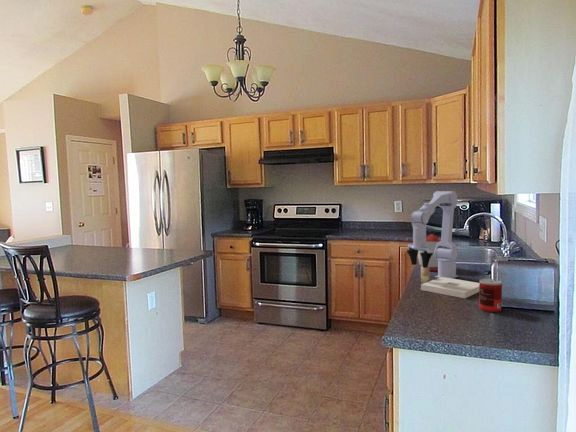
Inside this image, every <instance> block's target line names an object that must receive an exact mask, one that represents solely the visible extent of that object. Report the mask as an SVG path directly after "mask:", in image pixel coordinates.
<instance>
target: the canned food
mask: <svg viewBox="0 0 576 432" xmlns="http://www.w3.org/2000/svg"><path fill="white" fill-rule="evenodd" d="M493 279H494V278H482V279H479V282H478V283H479V292H478V294H479V295H478V296H479V297H478V308H479V310H480V311H482V310H483V311H482V312H485V311H486V312H485V313H493V312H495V313H500V312H501V311H502V305H503V304H502V302H503V299H502V298H503V297H502V295H503V291H502V290H503V282H502V281H501V280H499V281H495V280H496V279H495V280H493ZM499 311H500V312H499Z"/></svg>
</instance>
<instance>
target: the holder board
mask: <svg viewBox="0 0 576 432" xmlns="http://www.w3.org/2000/svg"><path fill="white" fill-rule="evenodd" d="M479 283H480V282H475V281H469V280H463V279H456V278H453V279H452V278H445V277H440V278H436V279H432V280H429V282H426V283H424V284H422V283H420V291H425V292H431V293H435V294H440V295H446V296H451V297H456V298H459V299H460V298H461V299H467V298H469V297H471V296H473V295H475V294H479Z"/></svg>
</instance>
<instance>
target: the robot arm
mask: <svg viewBox="0 0 576 432" xmlns="http://www.w3.org/2000/svg"><path fill="white" fill-rule="evenodd" d="M432 195H433V196H432V198H431V200H430V201H429V202H425V203H424V204H423V205H422V206H421V207H420V208H419V209H418V210H417V211H416V210H415V211H413V212H411V215H410V219H409V220H410V222H411V226H412V242H413V243H410V244H409V243H408V244H407V250H406V252H407V254H408V256H409V258H410V263H411V265H412V266H414V265H416V266H417V263H418V262H417V261H418V251H423V252H422V253H420V254H421V257H422V265H423V268H427V267H428V263H429V260H430V258H431V256H432V255H433V253H432V248H429V247H426V237H427V224H428V222H429V221H430V218H431V216H432V215H433V214H434V213H435V210H436V208H437V207H439V208H441V209H442V223H441V236H440V238H441V241H440V242H438V243H437V244H436V248H435V251H434V255H435V257H436V258H437V260H438V271H437V275H435V276H434V278H436V279H438V278H440V277H445V278H452V279H456V278H458V277H459V276H458V275H457V264H456V263H457V262H456V261H455V260H456V259H457V258H458V247H457V244H455V243H454V242H453V241H452V240H453V238H452V237H453V229H454V228H453V227H454V225H453V224H454V214H455V213H454V212H455V208H457V205H458V204H457V203H458V195H457V193H456V191H454V190H450V191H448V190H447V191H446V190H444V191H443V190H442V191H441V190H440V191H439V190H436V191H434V193H433V194H432ZM442 246H447V247H442Z"/></svg>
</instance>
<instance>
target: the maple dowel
mask: <svg viewBox="0 0 576 432" xmlns="http://www.w3.org/2000/svg"><path fill="white" fill-rule="evenodd" d="M430 271H431V270H430V267H429V266H428V267H427V268H423V266H421V267H420V284H424V283H426V282H429V281H430V274H431V273H430Z"/></svg>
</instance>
